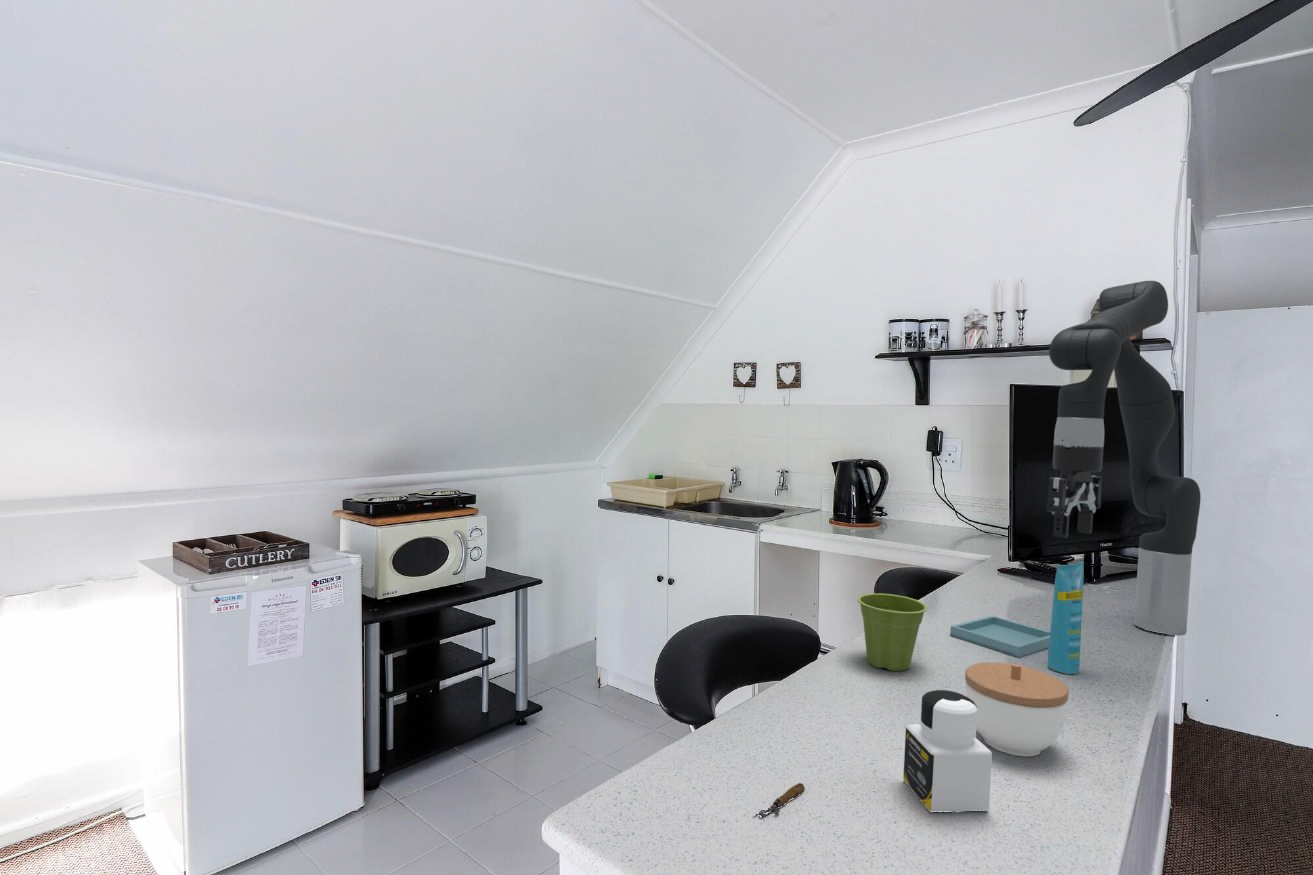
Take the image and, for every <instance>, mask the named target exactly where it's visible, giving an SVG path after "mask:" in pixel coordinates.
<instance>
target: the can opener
mask: <svg viewBox="0 0 1313 875" xmlns="http://www.w3.org/2000/svg"><path fill="white" fill-rule="evenodd" d="M805 789H806V788H805V786H804V784H803V783H801V782H799V783H797V784H795V785H793V786H791V787H790V788H788V789H787V790H786V791H785V792H784V793H783V794H782V795H780V796H779V797H777V798H775V800H774V801H773V803H772V806H771V805H770V806H771V807H770V808H768V810H766V811H765V810H761V811H760V812H759V814H758V816H759V815H761V816H762V817H763V818H764V813H765V812H770V811H772V810H773V811H775V812H773V811H772V812H773V814H778V813H780V811H781V810H780V809H781V808H778V807H781V806H783V805H784V804H785V803H787V802H788V801H789V800H790V799H792V798H795V797H796V796H798V795H799V794H800V795H802V794H803V793H804V792H805ZM800 795H799V796H800ZM799 796H798V797H799ZM796 798H797V797H796ZM796 798H795V799H796ZM788 803H789V802H788ZM788 803H787V804H788ZM784 806H785V805H784ZM784 806H783V807H784ZM770 813H771V812H770Z"/></svg>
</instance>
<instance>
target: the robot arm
mask: <svg viewBox="0 0 1313 875" xmlns="http://www.w3.org/2000/svg"><path fill="white" fill-rule="evenodd" d="M1168 310H1169V298H1168V294H1167V291H1166V288H1165V287H1164V285H1163V284H1162V283H1161V282H1159V281H1156V280H1143V281H1137V282H1132V283H1127V284H1122V285H1117V286H1112V287H1108V288H1105V289H1102V291H1101V292H1100V294H1099V298H1098V313H1097V314H1095V315H1094V316H1092V317H1091V318H1090V319H1088V320H1087V321H1086V322H1084V323H1080V324H1075V325H1073V326H1070V327H1066V328H1064V329H1062V330H1060V331H1059V332H1058V333H1057V334H1056V335H1055V336H1054V337H1053V338H1052V340H1051V342H1050V344H1049V348H1048V356H1049V358H1050V361H1051V363H1052V364H1053V365H1054V367H1056V368H1058V369H1060V370H1065V371H1091V372H1090V374H1089V375H1088V377H1086V379H1084V380H1082V381H1079V382H1075V383H1074V382H1073V383H1069V384H1065V385H1063V386H1061V387H1060V389H1059V391H1058V400H1057V402H1058V403H1057V415H1056V416H1057V418H1056V422H1055V426H1054V428H1055V429H1054V437H1053V449H1052V450H1053V452H1052V454H1053V455H1052V468H1053V469H1054V470H1057V471H1060V476H1059V477H1057V476H1056V477H1053V476H1050V477H1049V479H1048V489H1047V499H1046V500H1047V502H1046V511H1047V512H1050V513H1051V514H1052V515H1053V525H1052V526H1053V527H1052V528H1053V529H1052V530H1053V531H1052V534H1053V536H1054V537H1056V538H1063V539H1064V538H1065V539H1066V538H1068V536H1069V528H1070V527H1069V526H1070V513H1071V511H1072V509H1073V507H1076V506H1077V509H1078V512H1077V524H1076V526H1077V527H1076V530H1077V532H1078V533H1080V534H1086V535H1089V534H1092V531H1093V521H1094V514H1095V513H1096V511H1097V509H1098V510H1099V509H1100V508H1101V506H1102V488H1103V487H1102V486H1103V484H1102V482H1103V481H1102V479H1103V477H1102V476H1101V475H1093V473H1099V472H1101V471H1102V470H1103V461H1104V460H1103V459H1104V446H1105V424H1104V423H1105V422H1104V417H1105V407H1106V406H1105V402H1106V394H1107V390H1108V386H1109V384H1110V380H1111V378H1112V375H1113V372H1114V377H1115V382H1116V389H1117V390H1116V391H1117V396H1118V398H1117V399H1118V404H1119V409H1120V414H1121V418H1122V423H1123V428H1124V433H1125V438H1126V444H1127V451H1128V457H1129V458H1128V459H1129V471H1130V485H1131V494H1132V495H1131V496H1132V499H1133V500H1132V501H1133V504H1134V507H1135V508H1136V509H1137V511H1138V512H1139V513H1141V514H1142V515H1144V516H1148V517H1154V518H1160V519H1166V522H1165V525H1164V527H1163V528H1162V529H1159V530H1158V531H1153V532H1144V533H1142V534H1141V535H1140V536H1139V542H1138V543H1139V545H1138V560H1137V571H1136V572H1137V573H1136V574H1137V575H1136V586H1135V587H1136V588H1135V590H1136V591H1135V600H1134V601H1135V602H1134V605H1135V606H1134V620H1133V625H1134V626H1135V625H1136V626H1138V627H1141V628H1143V629H1148V630H1151V631H1157V632H1163V633H1166V634H1167V635H1166V636H1175V637H1176V636H1184V635H1186V634H1187V631H1188V630H1187V629H1188V628H1187V627H1188V618H1189V617H1188V615H1189V601H1190V585H1191V573H1192V572H1191V571H1192V570H1191V569H1192V555H1193V554H1192V553H1193V547H1194V543H1195V540H1196V538H1197V530H1198V523H1199V522H1198V521H1199V515H1200V509H1201V508H1200V507H1201V498H1202V497H1201V489H1200V486H1199V484H1198V483H1197V481H1196V480H1194V479H1193V478H1190V477H1186V476H1175V475H1167V474H1161V473H1160V471H1159V466H1158V465H1159V464H1158V452H1159V449H1160V448H1161V446H1162V443H1163V442H1164V440H1165V439H1166V438H1167V436H1168V433H1170V430H1171V428H1172V427H1173V425H1174V422H1175V418H1176V407H1175V403H1174V397H1173V396H1174V395H1173V392H1172V388H1171V385H1170V384H1169V381H1168V380H1167V379H1166V378H1165V377H1164V376H1163V375H1162V373H1160V371H1159V370H1157V369H1156V368H1155V367H1154V366H1153V365H1151V363H1150V362H1148V361H1147V360H1146V359H1145V358H1144V357H1143V356H1142V355H1141V354H1140V353H1139V351H1138V350H1137V349H1136V348H1135V346H1134V344H1133V342H1132V340H1131V339H1130V338H1131V337H1133V336H1135V335H1136V334H1138V333H1140V332H1142V331H1144V330H1146V329H1148V328H1150V327H1153V326H1156V325H1159V324H1161V323H1162V322H1163V321H1164V320H1165V319H1166V317H1167V315H1168ZM1136 626H1135V627H1136ZM1138 627H1137V628H1138ZM1143 629H1142V630H1143Z"/></svg>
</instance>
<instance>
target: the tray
mask: <svg viewBox="0 0 1313 875" xmlns="http://www.w3.org/2000/svg"><path fill="white" fill-rule="evenodd" d="M949 635H950V636H949V637H952V638H956V639H959V640H963V641H965V642H968V643H971V644H973V645H976V646H977V645H978V646H981V647H984V648H987V649H989V650H993V651H996V652H999V653H1002V654H1006V655H1009V656H1012V657H1014V658H1018V659H1019V658H1022V657H1025V656H1028V655H1030V654H1034V653H1037V652H1040V651H1042V650H1046V649H1049V642H1050V631H1048V630H1045V629H1041V628H1039V627H1035V626H1031V625H1026V624H1024V623H1020V622H1017V621H1013V620H1010V619H1006V618H1003V617H998V616H995V615H990V616H985V617H981V618H978V619H972V620H970V621H969V620H968V621H966V622H961V623H958V624H954V625H951V626H950V634H949Z"/></svg>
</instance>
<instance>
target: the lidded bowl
mask: <svg viewBox="0 0 1313 875" xmlns="http://www.w3.org/2000/svg"><path fill="white" fill-rule="evenodd" d="M964 679H965V696H966V697H968V698H970V699H971V700H972V701H974V703H975V704H976V705H977V727H976V732H978V733H979V734H980V736H981V737H982V739H983V741H984V743H985V744H986V745H987V746H988V747H990V746H991V748H992V749H994V750H996V751H998V752H1001V753H1003V752H1004V754H1008V755H1010V754H1011V755H1010V756H1016V757H1024V758H1028V757H1029V758H1030V757H1037V756H1039V755H1041V753H1042V751H1043V750H1044V751H1045V749H1047V748H1049V747H1050V746H1051V745H1053V744H1054V743H1055V742H1056V740H1057V739H1058V738H1059V736H1060V734H1061V732H1062V730H1063V727H1064V723H1065V721H1066V714H1067V702H1068V699H1069V689H1068V686H1067V685H1066V684H1065V683H1064V682H1063V681H1061V680H1060V679H1058V677H1055V676H1053V675H1050V674H1049V673H1046V672H1044V671H1041V670H1038V669H1036V668H1035V669H1034V668H1031V667H1027V666H1023V665H1020V664H1018V663H1005V662H980V663H979V662H978V663H975V664H971V665H970V666H968V667H967V668H966V669H965V673H964Z"/></svg>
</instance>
